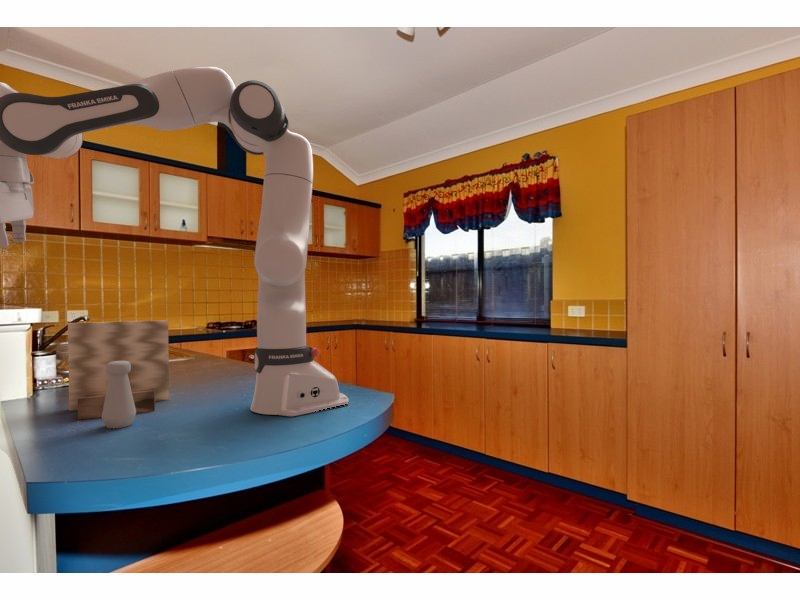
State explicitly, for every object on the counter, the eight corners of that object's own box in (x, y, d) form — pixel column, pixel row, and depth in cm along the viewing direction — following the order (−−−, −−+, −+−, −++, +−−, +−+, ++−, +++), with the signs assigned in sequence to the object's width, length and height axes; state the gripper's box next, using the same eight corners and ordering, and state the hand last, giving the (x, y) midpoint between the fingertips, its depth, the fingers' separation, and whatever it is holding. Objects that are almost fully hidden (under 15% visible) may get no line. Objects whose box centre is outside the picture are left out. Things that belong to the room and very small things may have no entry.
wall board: (169, 397, 107) (168, 320, 106) (169, 399, 105) (168, 320, 105) (70, 408, 97) (69, 323, 96) (69, 410, 95) (67, 323, 95)
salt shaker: (143, 421, 86) (142, 359, 86) (122, 430, 81) (121, 363, 81) (117, 420, 87) (116, 359, 87) (94, 429, 81) (93, 363, 81)
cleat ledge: (155, 401, 103) (155, 383, 103) (154, 410, 95) (154, 390, 95) (85, 409, 96) (85, 389, 96) (77, 420, 88) (77, 398, 88)
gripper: (0, 170, 72) (14, 249, 76) (35, 175, 90) (46, 239, 93) (-50, 168, 70) (-33, 250, 73) (-4, 173, 87) (9, 240, 90)
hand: (11, 244), depth 83 cm, fingers open, 8 cm apart
